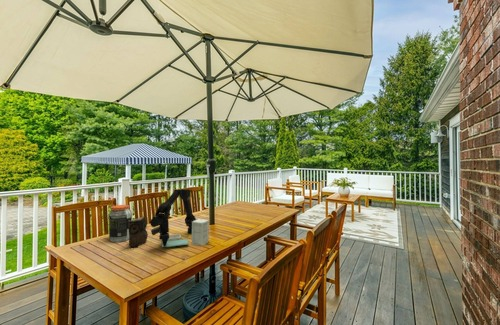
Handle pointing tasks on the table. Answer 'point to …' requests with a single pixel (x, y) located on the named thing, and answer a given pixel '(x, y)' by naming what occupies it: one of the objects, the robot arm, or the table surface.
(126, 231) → the supplement tub
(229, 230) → the table surface
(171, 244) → the lid
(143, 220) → the owl
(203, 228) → the supplement box
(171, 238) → the tub
